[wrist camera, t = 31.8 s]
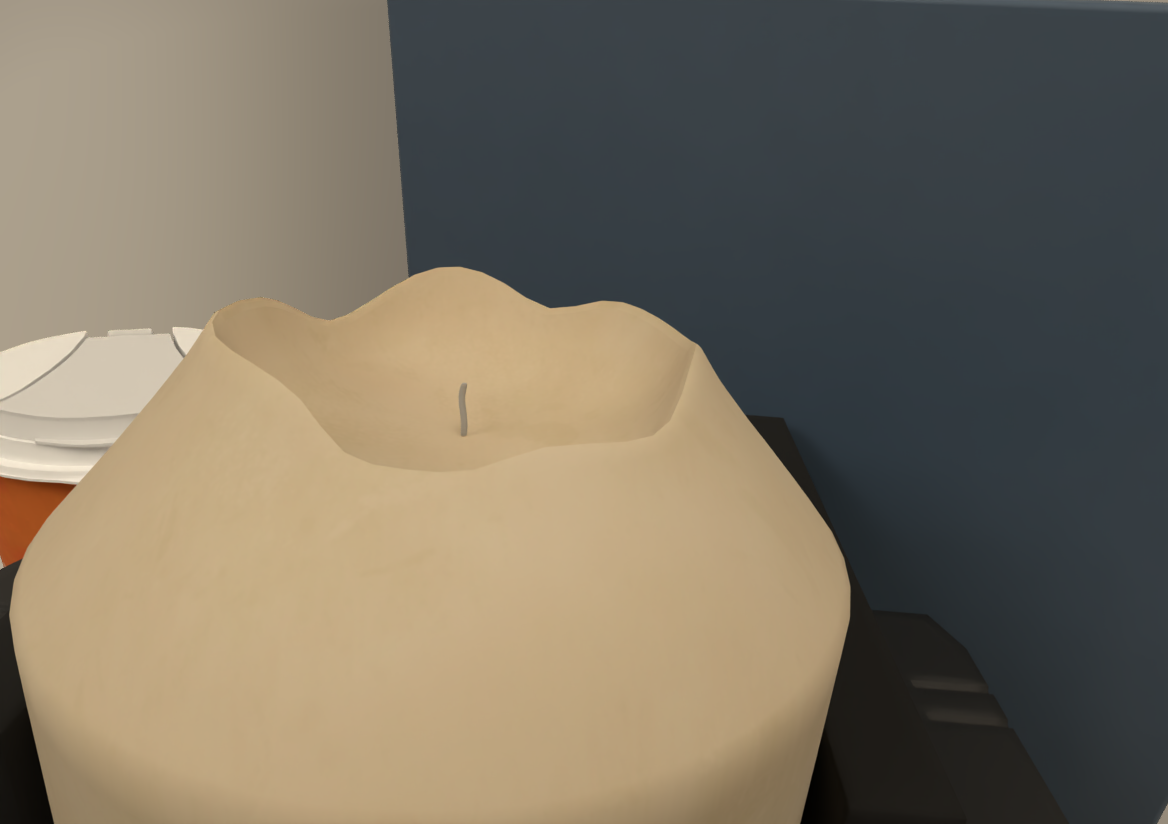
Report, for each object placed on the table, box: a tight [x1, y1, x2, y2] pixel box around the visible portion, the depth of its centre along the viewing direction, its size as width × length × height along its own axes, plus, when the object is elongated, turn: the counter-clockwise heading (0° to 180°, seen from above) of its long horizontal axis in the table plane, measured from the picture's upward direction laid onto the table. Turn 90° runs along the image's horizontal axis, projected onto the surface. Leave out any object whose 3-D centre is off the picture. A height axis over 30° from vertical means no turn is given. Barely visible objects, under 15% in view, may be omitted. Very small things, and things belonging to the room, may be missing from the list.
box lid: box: [387, 0, 1168, 824], centre depth 16 cm, size 14×13×8 cm
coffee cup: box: [0, 327, 203, 567], centre depth 26 cm, size 8×8×15 cm
